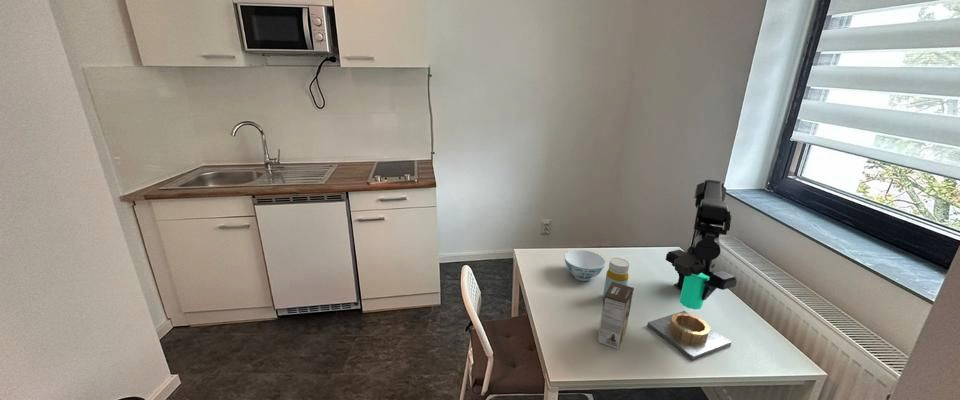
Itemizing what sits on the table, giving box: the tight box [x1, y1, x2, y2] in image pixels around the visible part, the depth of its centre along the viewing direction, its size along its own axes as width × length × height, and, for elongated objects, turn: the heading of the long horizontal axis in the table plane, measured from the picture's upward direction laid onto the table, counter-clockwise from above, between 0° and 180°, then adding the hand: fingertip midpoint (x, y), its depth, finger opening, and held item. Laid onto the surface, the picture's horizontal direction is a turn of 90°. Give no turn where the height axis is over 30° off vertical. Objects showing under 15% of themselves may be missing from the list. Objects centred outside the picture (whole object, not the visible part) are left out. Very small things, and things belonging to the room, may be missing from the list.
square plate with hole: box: [646, 310, 732, 362], centre depth 113 cm, size 16×16×4 cm
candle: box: [679, 273, 709, 310], centre depth 110 cm, size 6×6×12 cm
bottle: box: [602, 257, 630, 299], centre depth 128 cm, size 7×7×15 cm
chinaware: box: [564, 249, 606, 282], centre depth 144 cm, size 15×15×8 cm
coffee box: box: [597, 282, 635, 350], centre depth 110 cm, size 9×6×16 cm
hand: (692, 293), depth 111 cm, fingers closed on candle, 7 cm apart
